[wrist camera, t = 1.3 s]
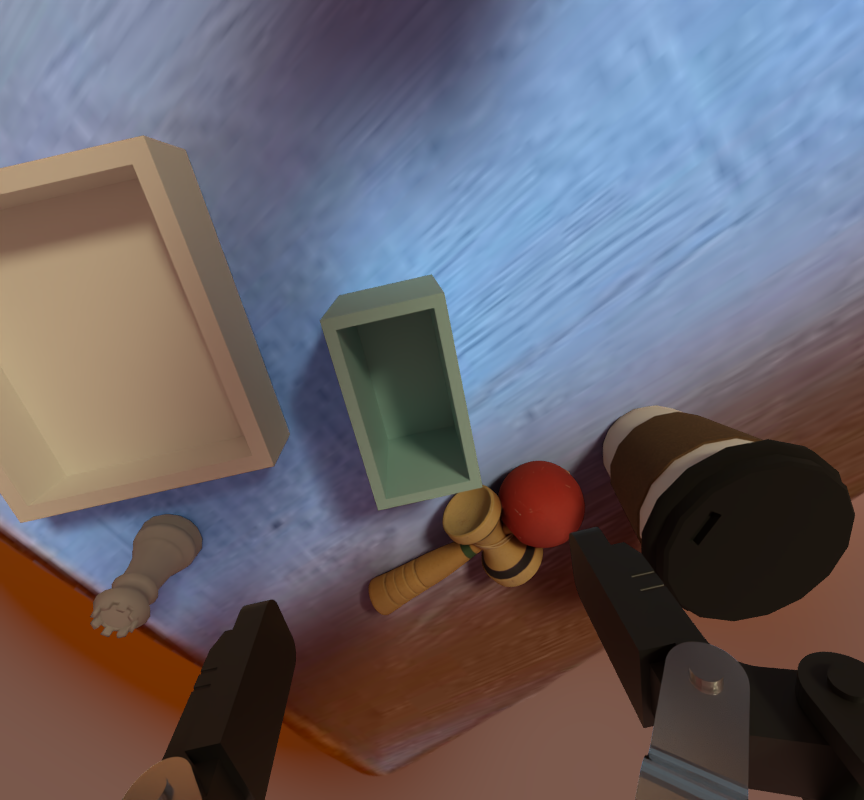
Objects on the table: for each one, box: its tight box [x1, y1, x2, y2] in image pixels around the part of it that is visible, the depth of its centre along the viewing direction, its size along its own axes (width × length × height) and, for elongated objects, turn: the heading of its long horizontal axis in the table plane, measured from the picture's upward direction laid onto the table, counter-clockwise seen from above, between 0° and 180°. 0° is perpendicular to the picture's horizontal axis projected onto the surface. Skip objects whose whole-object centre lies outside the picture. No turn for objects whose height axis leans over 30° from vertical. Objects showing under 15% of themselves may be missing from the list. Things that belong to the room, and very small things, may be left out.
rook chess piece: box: [90, 514, 202, 638], centre depth 31 cm, size 4×4×8 cm
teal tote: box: [320, 274, 482, 511], centre depth 27 cm, size 11×6×8 cm, turn 12°
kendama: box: [369, 461, 585, 615], centre depth 34 cm, size 8×6×18 cm
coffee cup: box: [603, 405, 855, 621], centre depth 29 cm, size 11×11×12 cm
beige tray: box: [0, 135, 290, 523], centre depth 26 cm, size 18×16×4 cm
